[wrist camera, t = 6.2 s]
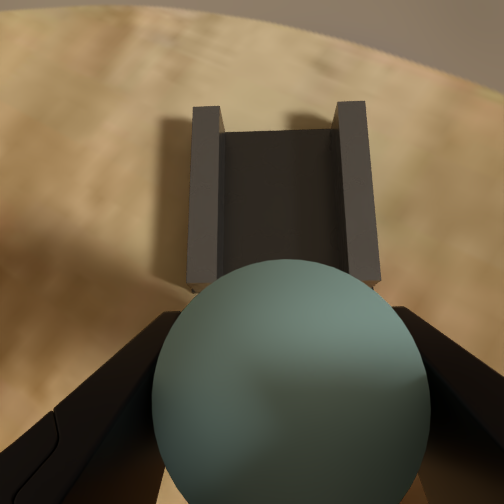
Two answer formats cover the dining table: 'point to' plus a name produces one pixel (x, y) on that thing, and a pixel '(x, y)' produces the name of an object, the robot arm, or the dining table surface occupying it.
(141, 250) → the dining table surface
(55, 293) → the dining table surface
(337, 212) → the rail dock
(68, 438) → the robot arm
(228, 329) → the teal peg
